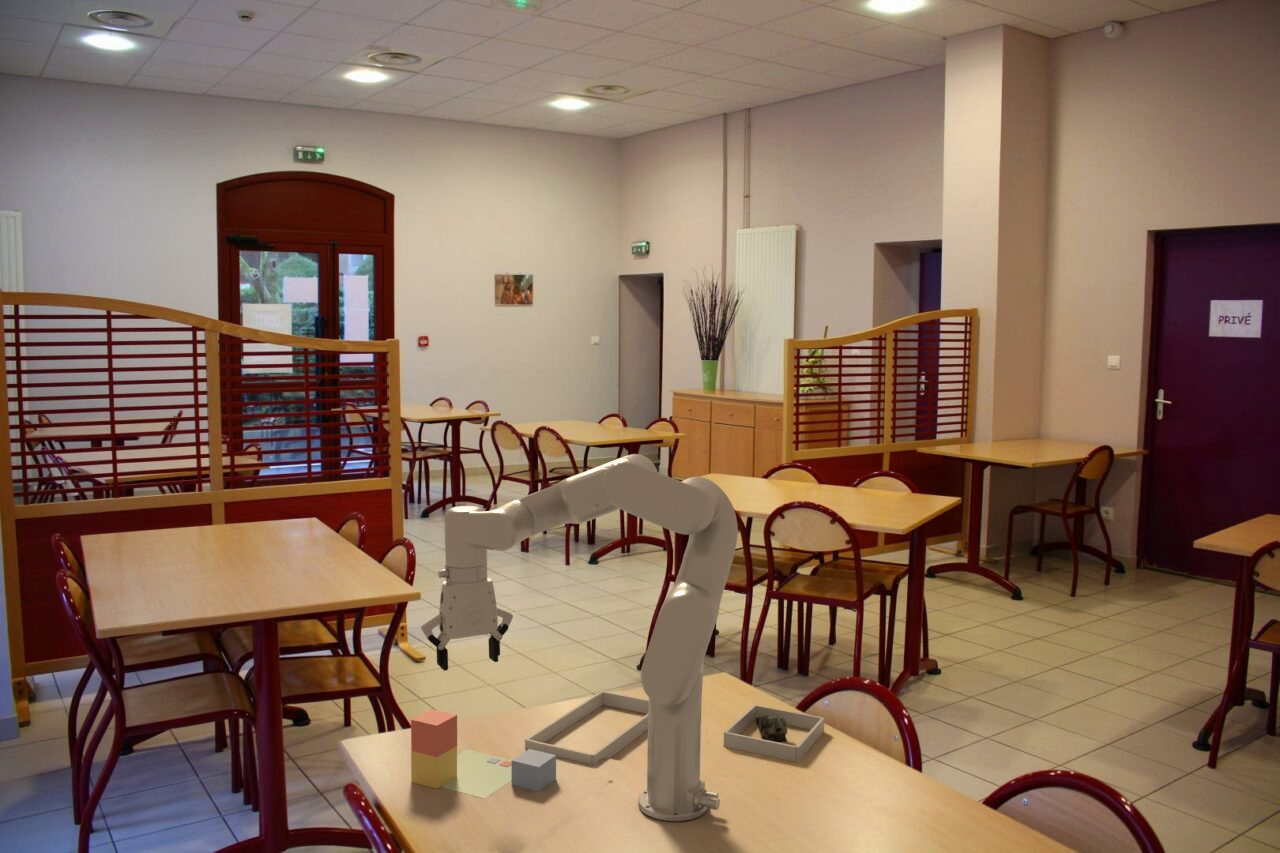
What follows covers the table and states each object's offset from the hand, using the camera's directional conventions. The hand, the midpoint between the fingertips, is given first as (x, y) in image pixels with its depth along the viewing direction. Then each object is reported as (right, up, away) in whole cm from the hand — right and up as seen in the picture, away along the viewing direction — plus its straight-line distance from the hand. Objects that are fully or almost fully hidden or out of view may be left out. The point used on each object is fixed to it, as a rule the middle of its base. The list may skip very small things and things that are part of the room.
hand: (469, 664), depth 186 cm
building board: (0, -23, +5) cm, 24 cm away
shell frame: (+60, -22, +26) cm, 69 cm away
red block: (-7, -16, +2) cm, 18 cm away
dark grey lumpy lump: (+59, -22, +30) cm, 70 cm away
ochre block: (-7, -22, +2) cm, 23 cm away
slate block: (+12, -24, +2) cm, 27 cm away
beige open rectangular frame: (+23, -22, +28) cm, 42 cm away
